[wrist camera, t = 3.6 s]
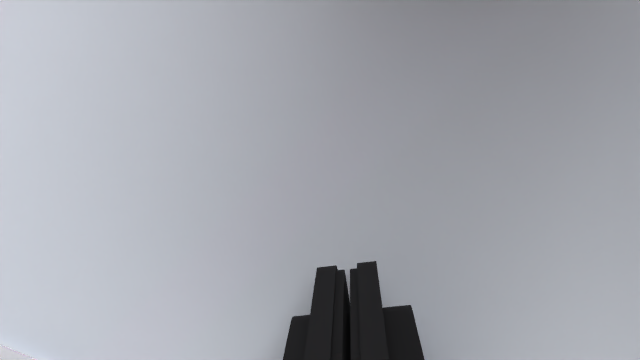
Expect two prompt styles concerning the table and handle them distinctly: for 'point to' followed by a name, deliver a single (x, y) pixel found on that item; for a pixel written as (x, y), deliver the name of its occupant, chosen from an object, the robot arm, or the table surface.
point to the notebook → (12, 354)
